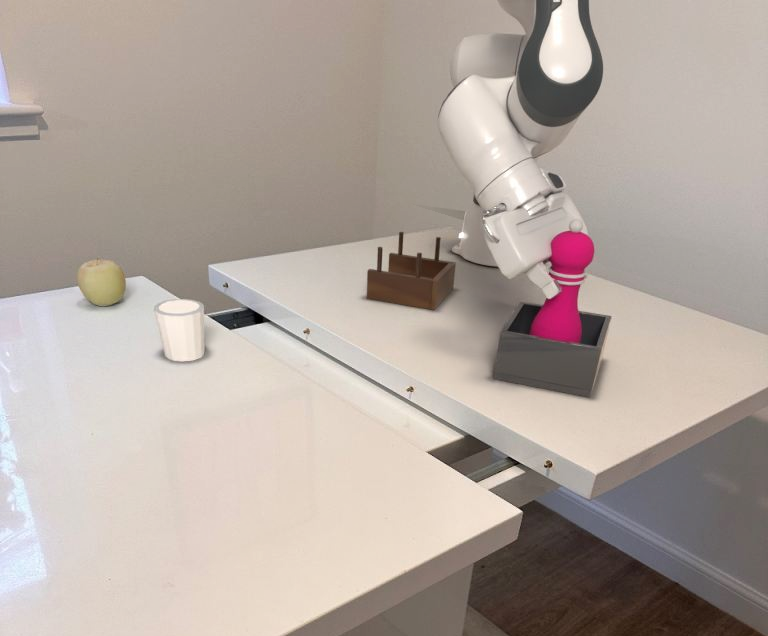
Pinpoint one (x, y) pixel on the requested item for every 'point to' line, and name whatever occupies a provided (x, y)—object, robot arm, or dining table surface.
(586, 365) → the gray open box
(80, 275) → the fruit
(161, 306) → the white cup
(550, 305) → the pepper mill
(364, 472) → the dining table surface
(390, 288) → the rack
